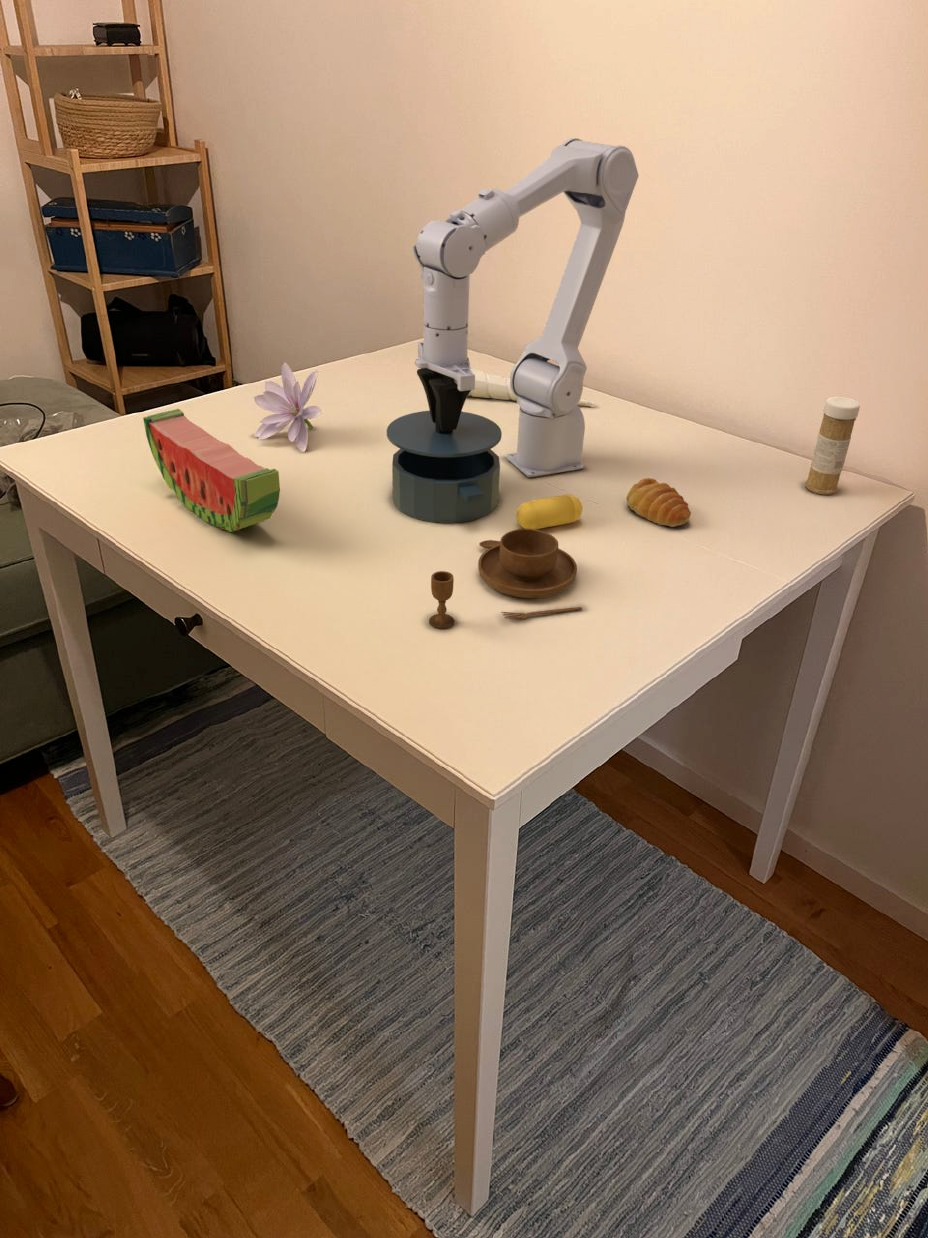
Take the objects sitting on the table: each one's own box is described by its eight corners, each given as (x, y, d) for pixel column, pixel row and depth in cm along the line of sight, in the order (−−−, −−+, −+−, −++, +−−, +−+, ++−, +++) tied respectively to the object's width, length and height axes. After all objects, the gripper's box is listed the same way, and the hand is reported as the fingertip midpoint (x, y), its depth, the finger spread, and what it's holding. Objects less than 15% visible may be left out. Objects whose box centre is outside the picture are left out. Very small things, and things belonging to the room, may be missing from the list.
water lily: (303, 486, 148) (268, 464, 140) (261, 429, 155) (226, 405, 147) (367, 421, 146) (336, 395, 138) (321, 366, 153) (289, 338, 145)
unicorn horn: (591, 414, 159) (594, 387, 156) (457, 398, 164) (457, 372, 161) (595, 405, 163) (598, 378, 160) (464, 390, 168) (465, 363, 165)
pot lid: (472, 411, 135) (473, 377, 133) (520, 451, 124) (523, 415, 121) (370, 425, 130) (369, 389, 127) (411, 468, 118) (411, 430, 115)
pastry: (701, 523, 126) (706, 497, 124) (664, 534, 123) (668, 508, 121) (655, 496, 133) (659, 471, 131) (619, 506, 130) (622, 481, 128)
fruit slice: (151, 484, 132) (139, 416, 126) (191, 473, 135) (182, 406, 130) (246, 556, 115) (237, 482, 110) (289, 540, 119) (283, 468, 113)
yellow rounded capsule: (572, 513, 128) (575, 488, 126) (586, 525, 125) (589, 499, 123) (510, 524, 125) (512, 498, 122) (523, 537, 122) (525, 510, 120)
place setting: (601, 609, 107) (607, 565, 104) (434, 633, 102) (434, 587, 99) (547, 539, 121) (551, 497, 118) (397, 556, 116) (397, 514, 113)
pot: (464, 464, 140) (465, 426, 137) (524, 521, 125) (526, 481, 122) (372, 478, 135) (371, 439, 132) (422, 539, 120) (423, 498, 117)
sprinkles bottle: (823, 480, 139) (846, 393, 132) (843, 493, 136) (868, 404, 128) (797, 484, 138) (819, 396, 130) (817, 497, 134) (841, 408, 127)
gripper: (396, 311, 122) (397, 410, 130) (438, 343, 111) (437, 449, 119) (445, 307, 125) (444, 404, 132) (491, 337, 114) (487, 441, 121)
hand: (444, 425), depth 126 cm, fingers closed on pot lid, 2 cm apart
